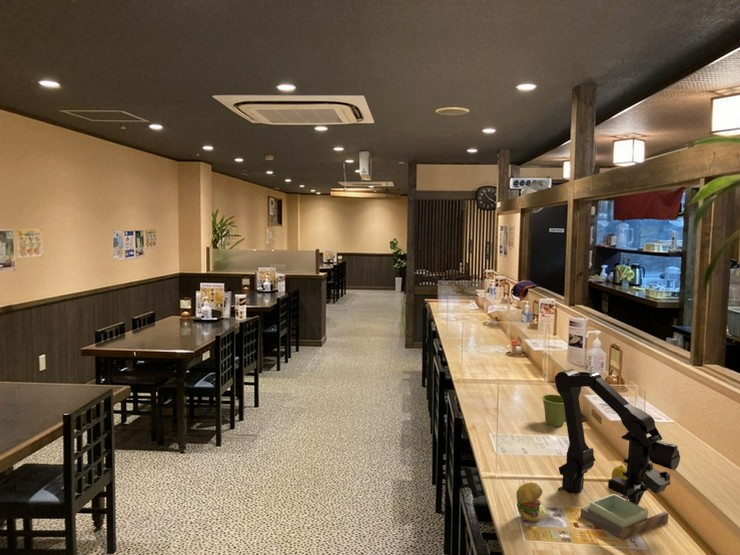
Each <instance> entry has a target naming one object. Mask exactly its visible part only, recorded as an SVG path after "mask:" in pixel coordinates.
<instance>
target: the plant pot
mask: <svg viewBox="0 0 740 555" xmlns="http://www.w3.org/2000/svg"><path fill="white" fill-rule="evenodd" d="M541 399H542V403H543V409H544V419H545V423H546V425H548V424H549V426H550V425H551V427H557V428H559V427H563V425H564V422H565V420H566V417H565V410H564V403H563V399H562V397H561V396H560V394H550V393H549V394H544V395H542V396H541Z"/></svg>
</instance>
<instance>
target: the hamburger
mask: <svg viewBox="0 0 740 555" xmlns="http://www.w3.org/2000/svg"><path fill="white" fill-rule="evenodd" d="M522 482H523V483H524V484H522V485H520V486H519V487H518V489H517V491H516V494H515V495H516V502H517V503H516V507H517V511H518V513H519V515H520V516H521V517H522V518H524V519H526V520H527V521H529V522H533V523H536V522H538V521H539V520H540V518H541V516H540V513H539V512H540V509H541V501H540V498H541V496H542V495H543V488H542V487H541V486H540V485H539V484H538V483H535V482H526V483H525V481H524V480H522Z"/></svg>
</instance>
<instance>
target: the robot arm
mask: <svg viewBox="0 0 740 555" xmlns="http://www.w3.org/2000/svg"><path fill="white" fill-rule="evenodd" d="M554 383H555V387H556V390H557V393H558V395H560V396H561V397H562V399H563V403H564V410H565V422H566V429H567V438H568V447H567V451H566V460H565V463H564V464H562V465H561V466H559V467H558V473H559V475H561V476H562V484H561V486H560V487H558V488H557V490H558V491H564V492H567V493H568V494H580V493H582V491H583V489H584V482H585V478H584V476H585V474H587V473H588V472H589V470H591V469H592V468H593V467H594V465H595V462H596V459H595V455H594V453H595V452H594V448H593V447H590V448H589V446H588V444H587V443H586V438H585V432H584V431H585V430H584V424H583V419H582V418H583V417H582V412H581V406H580V394H581V392H582V387H584V388H585V387H586V388H587V387H588V388H589V389H590V390H591V391H593V392H594V393H595V395H597V396H598V397H599V398H600V399H601V400H602V401H603V402H605V404H606V405H607V406H608V407H609V408H610V409H612V411H614V413H616V414H617V416H618V417H619V419H620V421H621V423H622V426H624V428H625V429H626V431H627V432H626V433H625V434H624V435H622V436H621V437H620V438H621V439H623V440H624V441H628V448H627V457H625V458H624V459H623V463H626V469H627V470H626V471H624V472H623V475H624V476H626V477H627V479H623V478H621V477H619V476H618V477H615V478H613V479H612V478H610V479H608V482H607V488H608V489H610V490H612V491H614V492H616V493H618V494H622V495H624V496H627V497H628V501H630V502H632V503H634V504H636V505H638V506H639V504H640V502H641V500H642V498H643V496H644V494H645V493H646V492H647V491H649V490H650V491H651V492H653V493H654V494H659V493H662V492H664V491H665V490H666V488H667V486H671V474H670V472H668V471H667V470H664V471H660V470H657V469H655V468H654V465H656V466H657V465H658V466H659V467H663V468H666V469H668V470H672V471H676V470H677V468H678V467H679V465H680V460H681V455H680V450H679V449H678V445H677V444H673V443H669V442H665V441H662V440H663V437H662V435H661V433H660V432H659V430H658V429H657V427H656V424H655V423H656V421H655V419H654V418H653V417H652V416H651V415H650V414H648V413H647V412H646V411H645V410H642V409H641V408H639V407H636V406H634V405H632V404H631V403H630V402H628V400H626V399H625V397H623V396H622V395H621V394H620V393H619V392H618V391H617V390H616V389H615V388H614V387H613V386H611V384H609V383H608V382H607V380H605V379H604V378H603V377H602V376H601V374H600V373H598V372H587V371H578V370H576V369H573V368H570V369H568V370H563V371H559V372H557V373H556V375H555V376H554ZM648 435H650V436H648Z"/></svg>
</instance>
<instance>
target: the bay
mask: <svg viewBox="0 0 740 555" xmlns="http://www.w3.org/2000/svg"><path fill="white" fill-rule="evenodd" d="M617 495H618V496H620V497H622V498H624V499H626V500H628V497H627V496H624V495H622V494H620V493H618V494H617ZM628 501H629V500H628ZM589 509H590V504H589V505H587V506H583V507H581V508H580V517H581V518H583V519H584V520H586V521H587V522H590V523H591V524H593V525H594V526H597V527H599V528H600V529H602V530H604V531H606V532H607V533H609V534H611V535H612V536H614V537H616V538H618V539H620V540H621V541H625V540H627V539H630V538H632V537H634V536H636V535H639V534H641V533H643V532H646V531H647V530H650V529H652V528H654V527H657V526H659V525H661V524H664V523H666V522H668V521H669V514H670V513H669V512H668V511H666V510H665V511H662V512H660V513H658V514H655V515H653V516H651V517H648V518H647V519H645V520H643V521H641V522H638V523H636V524H633V525H631V526H629V527H626V528H624V529H622V528H621V527H619V526H617V525H615V524H613V523H611V522H610V521H608V520H606V519H604V518H602V517H600V516H598V515H597V514H595V513H593V512H591V511H589Z"/></svg>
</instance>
